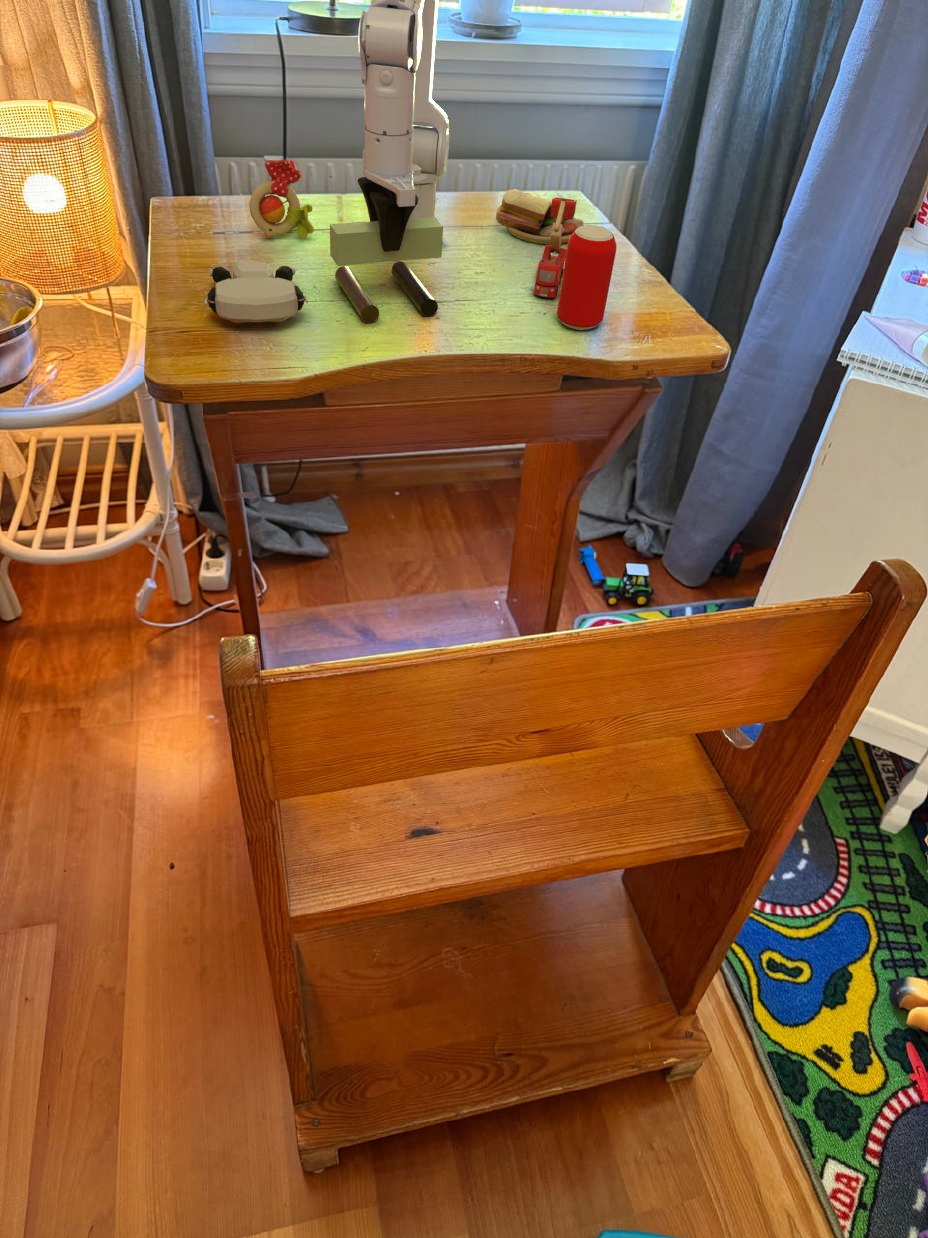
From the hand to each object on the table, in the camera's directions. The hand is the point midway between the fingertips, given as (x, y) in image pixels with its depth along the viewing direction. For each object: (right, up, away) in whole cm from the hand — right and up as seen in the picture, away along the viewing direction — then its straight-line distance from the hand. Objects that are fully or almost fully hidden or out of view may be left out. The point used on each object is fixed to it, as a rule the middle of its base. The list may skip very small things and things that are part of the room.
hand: (386, 244), depth 117 cm
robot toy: (-17, -8, 0) cm, 19 cm away
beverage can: (+25, -9, +5) cm, 27 cm away
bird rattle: (-16, +8, +18) cm, 25 cm away
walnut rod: (-4, -6, +4) cm, 8 cm away
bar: (0, -1, +1) cm, 2 cm away
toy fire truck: (+22, 0, +14) cm, 26 cm away
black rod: (+3, -4, +6) cm, 8 cm away
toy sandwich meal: (+22, +13, +27) cm, 37 cm away
